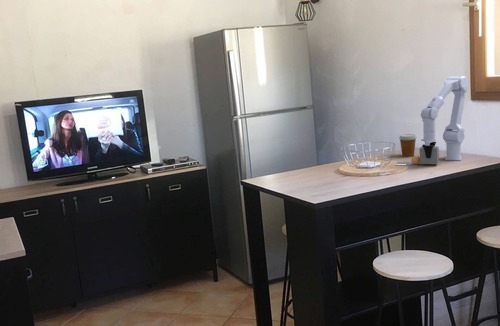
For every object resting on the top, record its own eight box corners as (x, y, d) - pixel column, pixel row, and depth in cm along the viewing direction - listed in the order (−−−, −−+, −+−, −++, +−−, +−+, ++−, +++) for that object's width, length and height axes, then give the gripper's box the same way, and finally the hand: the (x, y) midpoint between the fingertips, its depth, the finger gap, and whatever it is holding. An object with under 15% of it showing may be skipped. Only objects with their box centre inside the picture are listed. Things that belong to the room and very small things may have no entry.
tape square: (398, 162, 290) (397, 161, 290) (413, 162, 286) (413, 162, 286) (394, 165, 283) (394, 165, 283) (410, 165, 279) (410, 165, 279)
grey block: (421, 160, 283) (421, 146, 281) (438, 160, 279) (438, 146, 277) (419, 163, 278) (419, 148, 276) (437, 163, 274) (437, 148, 272)
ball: (416, 165, 284) (411, 158, 284) (423, 159, 282) (417, 153, 282) (415, 166, 280) (409, 160, 280) (421, 161, 278) (416, 155, 278)
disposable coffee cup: (395, 156, 307) (395, 135, 304) (408, 153, 311) (408, 133, 308) (407, 158, 298) (406, 137, 296) (420, 156, 302) (420, 135, 300)
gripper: (423, 129, 283) (423, 154, 286) (418, 133, 270) (419, 159, 273) (437, 128, 280) (437, 154, 283) (433, 133, 267) (433, 159, 270)
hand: (429, 156), depth 278 cm, fingers closed on grey block, 6 cm apart
